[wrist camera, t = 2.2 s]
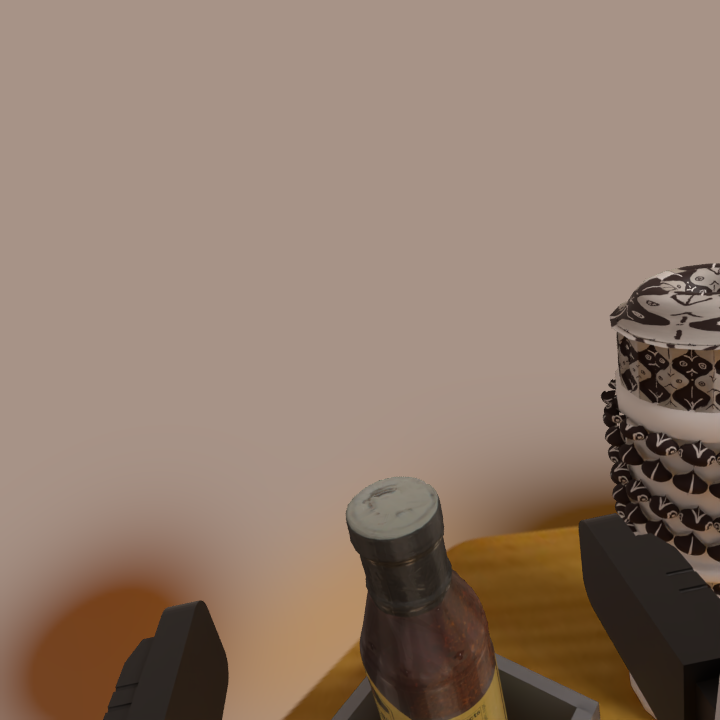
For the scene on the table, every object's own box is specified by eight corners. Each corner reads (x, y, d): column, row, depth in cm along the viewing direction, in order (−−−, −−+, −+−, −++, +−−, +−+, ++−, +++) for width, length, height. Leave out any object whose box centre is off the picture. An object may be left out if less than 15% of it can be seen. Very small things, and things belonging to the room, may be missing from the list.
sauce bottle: (416, 727, 36) (343, 455, 28) (521, 739, 34) (471, 449, 26) (396, 850, 30) (298, 549, 23) (520, 872, 28) (456, 549, 21)
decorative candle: (589, 652, 38) (552, 288, 29) (707, 600, 39) (708, 240, 30) (701, 790, 29) (700, 338, 20) (846, 717, 31) (905, 268, 22)
